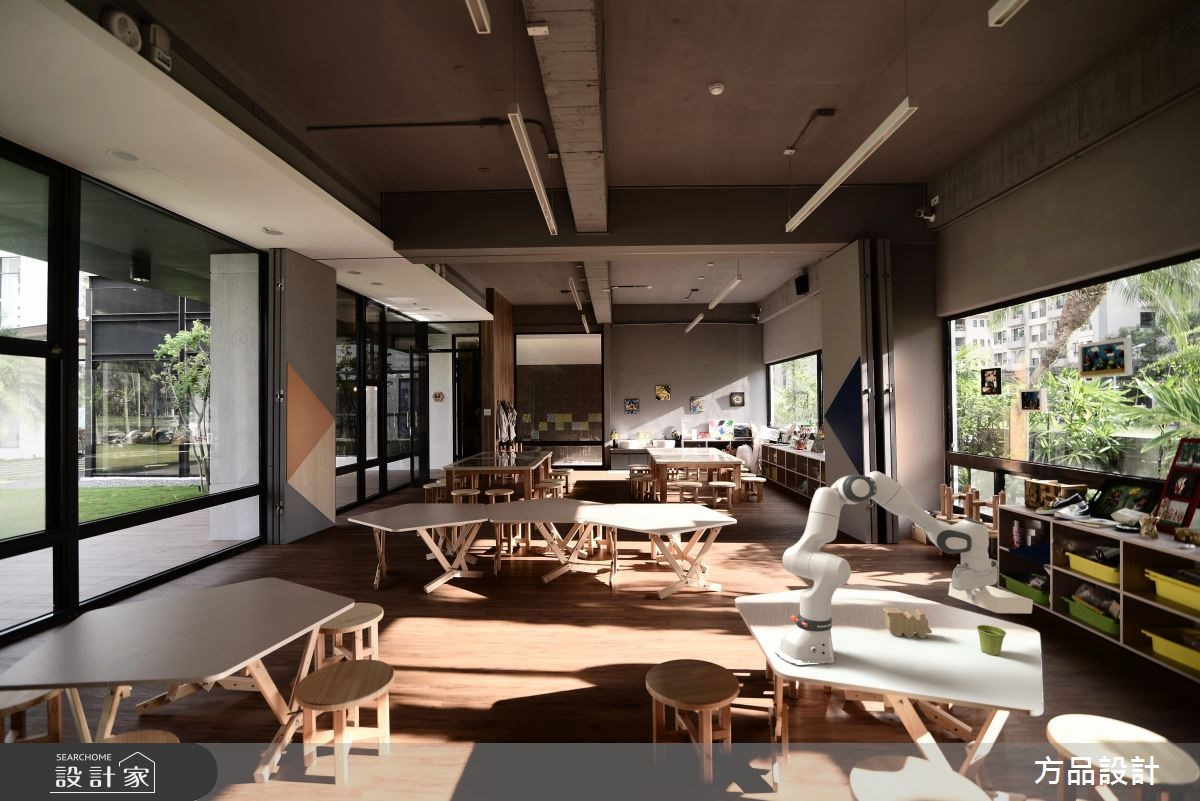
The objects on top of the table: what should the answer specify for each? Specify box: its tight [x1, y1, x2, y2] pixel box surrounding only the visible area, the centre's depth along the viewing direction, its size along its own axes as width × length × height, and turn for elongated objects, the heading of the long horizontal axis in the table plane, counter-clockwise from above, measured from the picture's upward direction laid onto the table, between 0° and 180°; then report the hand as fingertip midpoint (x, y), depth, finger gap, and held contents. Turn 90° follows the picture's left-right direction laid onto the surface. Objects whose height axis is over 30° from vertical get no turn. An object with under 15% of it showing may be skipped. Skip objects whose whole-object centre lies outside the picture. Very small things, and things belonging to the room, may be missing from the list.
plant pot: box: [976, 624, 1007, 656], centre depth 219 cm, size 9×9×9 cm
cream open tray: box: [948, 582, 1034, 614], centre depth 219 cm, size 19×19×5 cm
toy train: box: [882, 606, 933, 639], centre depth 235 cm, size 6×17×10 cm, turn 81°
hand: (974, 598), depth 216 cm, fingers closed on cream open tray, 2 cm apart
